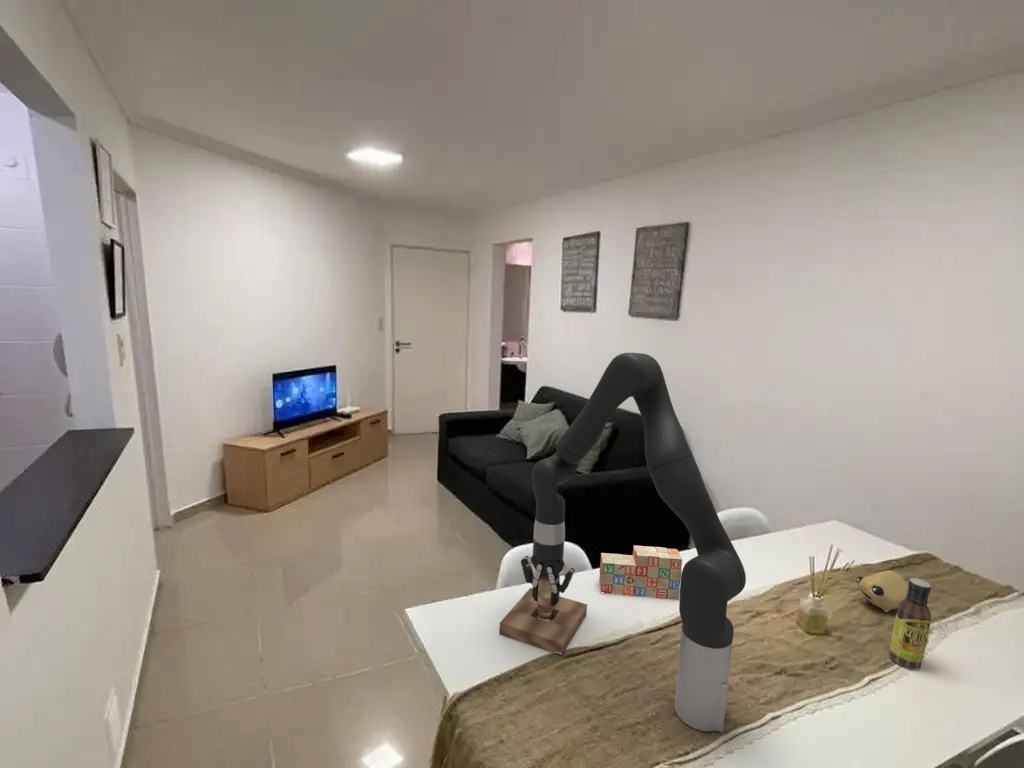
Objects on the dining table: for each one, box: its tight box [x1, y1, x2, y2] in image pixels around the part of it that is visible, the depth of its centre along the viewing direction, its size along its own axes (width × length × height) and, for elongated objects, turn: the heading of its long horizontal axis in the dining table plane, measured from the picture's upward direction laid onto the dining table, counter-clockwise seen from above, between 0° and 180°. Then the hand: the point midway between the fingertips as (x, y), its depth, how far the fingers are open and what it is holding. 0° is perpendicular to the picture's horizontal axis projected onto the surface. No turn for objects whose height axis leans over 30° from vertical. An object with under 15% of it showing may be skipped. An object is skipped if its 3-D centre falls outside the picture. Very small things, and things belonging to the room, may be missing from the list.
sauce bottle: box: [888, 577, 932, 670], centre depth 119 cm, size 6×6×20 cm
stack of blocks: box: [598, 545, 683, 601], centre depth 146 cm, size 21×6×12 cm, turn 85°
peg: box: [537, 576, 553, 621], centre depth 129 cm, size 4×4×10 cm
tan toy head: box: [855, 570, 909, 612], centre depth 143 cm, size 10×12×11 cm
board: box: [498, 587, 588, 653], centre depth 129 cm, size 16×18×3 cm
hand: (545, 601), depth 129 cm, fingers closed on peg, 4 cm apart
